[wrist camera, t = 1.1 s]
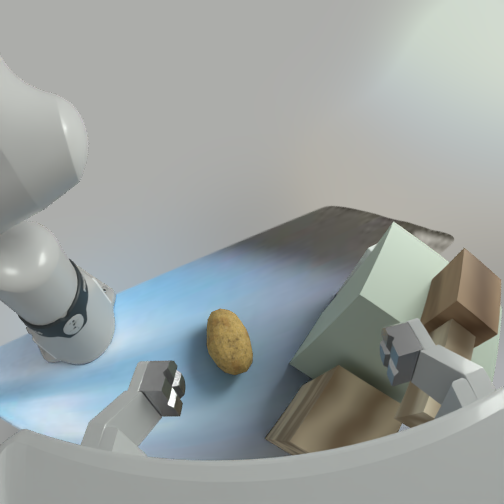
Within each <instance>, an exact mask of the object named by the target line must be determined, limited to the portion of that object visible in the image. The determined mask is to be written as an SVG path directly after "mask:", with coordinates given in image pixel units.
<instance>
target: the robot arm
mask: <svg viewBox="0 0 504 504" xmlns="http://www.w3.org/2000/svg"><path fill="white" fill-rule="evenodd" d="M87 157H88V135H87V130H86V126H85V124H84V121H83V119H82V117H81V115H80V113H79V112H78V111H77V109H76V108H75V107H74V106H73V105H72V104H71V103H70V102H69V101H68V100H66V99H65V98H63V97H61V96H59V95H57V94H54V93H50V92H47V91H44V90H41V89H38V88H36V87H34V86H32V85H30V84H28V83H26V82H25V81H23V80H22V79H20V78H19V77H18V76H17V75H15V74H14V73H13V72H12V71H11V69H10V68H9V67H8V66H7V65H6V63H5V62H4V60H3V58H2V57H1V55H0V300H1V301H2V302H4V303H5V304H6V305H7V306H8V307H10V308H11V309H12V310H13V311H14V312H16V313H17V314H18V316H19V318H20V319H21V320H22V321H23V322H24V323H25V325H26V326H27V327H26V329H27V331H28V333H29V334H32V336H33V337H32V339H33V341H34V342H35V343H36V344H37V345H38V346H39V349H40V351H41V353H42V355H43V357H44V359H45V360H46V361H47V362H51V363H52V362H59V361H63V362H67V363H71V364H85V363H89V362H91V361H93V360H95V359H97V358H98V357H99V356H101V355H102V354H103V353H104V352H105V350H106V349H107V348H108V346H109V344H110V343H111V340H112V338H113V335H114V330H115V318H114V312H113V306H114V303H115V298H116V294H115V292H114V290H113V289H112V288H110V287H108V286H107V285H105V284H104V283H102V282H101V281H99V280H98V279H96V278H95V277H93V276H92V275H90V274H89V273H87V272H86V271H84V270H83V269H82V268H80V267H78V266H77V265H76V264H74V262H73V261H71V260H70V259H69V258H68V257H67V255H66V254H65V252H64V250H63V249H62V247H61V245H60V243H59V242H58V240H57V238H56V237H55V235H54V234H53V233H52V232H51V231H50V230H49V229H47V228H46V227H44V226H43V225H41V224H39V223H36V222H33V221H24V220H26V219H28V218H29V217H31V216H33V215H35V214H37V213H38V212H40V211H42V210H44V209H45V208H47V207H48V206H49V205H50V204H52V203H53V202H54V201H56V200H57V199H58V198H60V197H61V196H62V195H63V194H65V193H66V192H67V191H68V190H70V189H71V188H72V187H74V186H75V185H76V184H78V183H79V182H80V180H81V178H82V175H83V172H84V170H85V166H86V163H87ZM104 291H106V292H104ZM381 336H382V338H383V340H382V341H381V342H380V357H381V360H382V363H383V365H384V366H385V367H387V368H388V370H387V376H388V378H389V381H390V383H391V386H396V385H399V384H403V383H406V382H410V381H411V382H412V383H413V384H414V385H416V386H417V387H418V388H420V389H421V390H422V391H424V392H425V393H426V394H427V395H429V396H430V397H431V398H433V399H434V400H435V401H437V402H438V403H439V404H441V407H440V409H439V411H438V413H437V414H436V416H435V419H434V420H431V421H429V422H426V423H423V424H421V425H418V426H415V427H412V428H409V429H406V430H403V431H400V432H397V433H394V434H391V435H387V436H384V437H380V438H377V439H373V440H369V441H365V442H361V443H357V444H353V445H349V446H344V447H339V448H334V449H329V450H324V451H318V452H312V453H306V454H299V455H291V456H283V457H273V458H262V459H246V460H182V459H167V458H156V457H147V455H146V454H145V453H144V452H143V451H142V450H141V449H140V448H138V446H139V445H140V444H141V442H142V441H143V440H144V439H145V438H146V436H147V435H148V434H149V433H150V431H151V430H152V429H153V428H154V427H155V425H156V424H157V423H158V422H159V420H160V419H161V418H162V417H161V416H180V414H181V409H182V404H183V403H182V401H181V400H180V399H181V398H182V397H183V396H184V394H185V380H184V377H183V375H182V374H181V373H180V372H178V371H177V365H176V363H175V362H174V361H140V362H139V363H138V364H137V366H136V369H135V372H134V374H133V377H132V380H131V382H130V385H129V388H128V391H124V392H123V393H122V394H121V395H120V396H118V397H117V398H116V399H115V400H114V401H113V402H112V403H110V404H109V405H108V406H107V407H106V408H105V409H104V410H102V411H101V412H100V413H99V414H98V415H97V416H95V417H94V418H93V419H92V420H91V421H90V422H89V423H88V426H87V429H86V431H85V434H84V437H83V440H82V442H81V445H78V444H74V443H70V442H66V441H63V440H59V439H56V438H52V437H49V436H46V435H43V434H39V433H36V432H34V431H31V430H28V429H22V430H20V431H18V432H17V433H15V434H14V435H12V436H11V437H10V438H8V439H7V440H6V441H4V442H3V443H2V444H1V445H0V504H504V386H503V387H501V388H500V389H498V390H496V389H495V387H494V385H493V383H492V381H491V380H490V378H489V376H488V375H487V373H486V371H485V370H484V368H483V367H481V366H479V365H477V364H476V363H474V362H472V361H470V360H468V359H466V358H464V357H462V356H460V355H458V354H456V353H454V352H452V351H450V350H448V349H446V348H444V347H443V346H441V345H435V344H434V342H433V340H432V339H431V337H430V335H429V334H428V332H427V330H426V329H425V327H424V326H423V324H422V323H421V321H420V319H418V318H416V319H412V320H409V321H406V322H401V323H398V324H394V325H391V326H387V327H383V328H382V331H381Z"/></svg>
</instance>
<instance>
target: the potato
mask: <svg viewBox="0 0 504 504" xmlns="http://www.w3.org/2000/svg"><path fill="white" fill-rule="evenodd" d="M207 348H208V352H209V355H210V356H211V357H212V359H213V360H214V362H215V363H216V364H217V366H218V367H219V368H220V369H221V370H223V371H224V372H225V373H229V374H233V375H237V374H240V373H243V372H247V370H248V369H249V367H250V365H251V364H252V361H253V353H252V348H251V343H250V338H249V335H248V333H247V330H246V328H245V327H244V325H243V324H242V322H241V321H240V319H239V318H238V317H237V315H236V314H234V313H233V312H231V311H229V310H225V309H218V310H216V311H213V312H211V314H210V316H209V318H208V323H207Z"/></svg>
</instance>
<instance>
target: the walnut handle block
mask: <svg viewBox="0 0 504 504" xmlns="http://www.w3.org/2000/svg"><path fill="white" fill-rule="evenodd" d="M500 298H501V279H500V278H498V277H497V276H496V275H495V274H494V273H493V272H492V271H491V270H490V269H489V268H487V267H486V266H485V265H484V264H483V263H482V262H481V261H479V260H478V259H477V258H476V257H475V256H474V255H472V254H471V253H470V252H469V251H468V250H466V249H465V248H464V249H463V250H462V251H461V252H460V253H459V254H458V255H457V256H456V257H455V258H454V259H453V260H452V261H451V262H450V263H449V264H448V265H447V266H445V267H444V268H443V269H442V270H441V271H440V272H439V273H438V274H437V275H436V276H435V277H434V278H433V279H432V281H431V285H430V289H429V292H428V296H427V299H426V303H425V306H424V310H423V313H422V316H421V319H420V321H421V323H422V324H423V326H424V327H425V329H426V330H427V332H428V334H429V335H430V337H431V339H432V340H433V342H434V344H435V345H441V346H443V347H444V348H446V349H448V350H450V351H452V352H454V353H456V354H458V355H460V356H462V357H464V358H466V359H468V360H470V361H471V358H472V353H473V348H475V347H477V346H479V345H480V344H482V343H484V342H486V341H487V340H489V339H491V338H492V337H494V336H496V335H497V334H498V327H499V316H500ZM440 407H441V404H439V403H438V402H437V401H435V400H434V399H433V398H431V397H430V396H429V395H427V394H426V393H425V392H424V391H422V390H421V389H420V388H418V387H417V386H416V385H414V384H413V383H412V382H411V381H410V382H409V385H408V387H407V390H406V392H405V395H404V397H403V399H402V402H401V404H400V406H399V408H398V411H397V413H396V415H395V417H394V419H396V420H398V421H399V422H401V423H403V424H405V425H406V426H408V427H410V428H412V427H415V426H418V425H421V424H423V423H426V422H429V421H431V420H434V419H435V416H436V414H437V413H438V411H439V409H440Z"/></svg>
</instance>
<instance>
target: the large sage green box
mask: <svg viewBox="0 0 504 504" xmlns="http://www.w3.org/2000/svg"><path fill="white" fill-rule="evenodd" d="M448 264H449V262H448V261H447V260H445V259H444V258H443V257H441V256H440V255H439V254H438V253H436V252H435V251H434V250H432V249H431V248H430V247H428V246H427V245H426V244H424V243H423V242H421V241H420V240H419V239H417V238H416V237H415V236H413V235H412V234H410V233H409V232H407V231H406V230H405V229H403V228H402V227H400V226H399V225H397V224H396V223H394V222H393V223H392V224H391V226H390V227H389V229H388V230H387V231H386V233H385V234H384V235H383V237H382V238H381V240H380V241H379V242H378V244H377V245H376V246H375V248H374V249H373V250H372V252H371V253H370V254H369V256H368V257H367V258H366V259H365V261H364V262H363V263H362V265H361V266H360V267H359V268H358V270H357V271H356V272H355V274H354V275H353V276H352V277H351V279H350V280H349V281H348V282H347V284H346V285H345V286H344V287H343V288H342V290H341V291H340V292H339V293H338V295H337V296H336V297H335V298H334V299H333V301H332V302H331V303H330V304H329V305H328V307H327V308H326V309H325V310H324V311H323V312H322V314H321V316H320V317H319V319H318V320H317V322H316V324H315V325H314V327H313V328H312V330H311V331H310V333H309V334H308V336H307V338H306V339H305V341H304V342H303V344H302V345H301V347H300V348H299V350H298V351H297V353H296V354H295V356H294V357H293V358H292V360H291V361H290V363H289V364H291V365H292V366H294V367H295V368H297V369H298V370H300V371H301V372H303V373H304V374H306V375H307V376H309V377H310V378H312V379H315V378H317V377H318V376H320V375H322V374H324V373H325V372H327V371H329V370H331V369H332V368H334V367H336V366H337V365H340V366H341V367H343V368H344V369H346V370H347V371H349V372H351V373H352V374H354V375H355V376H357V377H358V378H360V379H362V380H363V381H365V382H366V383H368V384H370V385H371V386H373V387H374V388H376V389H378V390H379V391H381V392H382V393H384V394H386V395H387V396H389V397H391V398H392V399H394V400H396V401H397V402H399V403H401V402H402V399H403V397H404V395H405V392H406V390H407V387H408V385H409V382H406V383H403V384H399V385H396V386H391V383H390V381H389V378H388V376H387V370H388V368H387V367H385V366H384V365H383V363H382V360H381V357H380V342H381V341H382V340H383V338H382V336H381V331H382V328H383V327H387V326H391V325H394V324H398V323H401V322H406V321H409V320H412V319H416V318H418V319H421V316H422V313H423V310H424V306H425V303H426V299H427V296H428V292H429V289H430V285H431V281H432V279H433V278H434V277H435V276H436V275H437V274H438V273H439V272H440V271H441V270H442V269H443V268H444V267H445V266H447V265H448ZM501 316H502V307H501V306H500V316H499V327H498V334H497V335H496V336H494V337H492V338H491V339H489V340H487V341H486V342H484V343H482V344H480V345H479V346H477V347H475V348H473V353H472V358H471V361H472V362H474V363H476V364H477V365H479V366H481V367H483V368H484V370H485V371H486V373H487V375H488V376H489V378H490V380H491V381H493V376H494V371H495V365H496V359H497V353H498V345H499V337H500V328H501V327H500V326H501Z"/></svg>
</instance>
